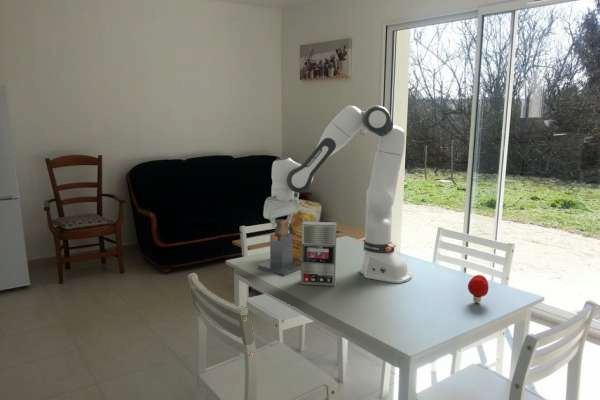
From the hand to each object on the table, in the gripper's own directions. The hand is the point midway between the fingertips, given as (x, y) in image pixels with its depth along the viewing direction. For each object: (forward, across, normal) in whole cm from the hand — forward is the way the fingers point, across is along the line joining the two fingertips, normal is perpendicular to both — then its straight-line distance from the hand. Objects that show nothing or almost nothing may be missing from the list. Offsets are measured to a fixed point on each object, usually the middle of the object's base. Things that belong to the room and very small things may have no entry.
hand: (281, 225), depth 204 cm
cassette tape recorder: (+20, -5, -24) cm, 32 cm away
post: (+18, 0, 0) cm, 18 cm away
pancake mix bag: (+20, +18, +2) cm, 27 cm away
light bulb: (+19, +16, -81) cm, 85 cm away
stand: (+19, 0, 0) cm, 19 cm away
